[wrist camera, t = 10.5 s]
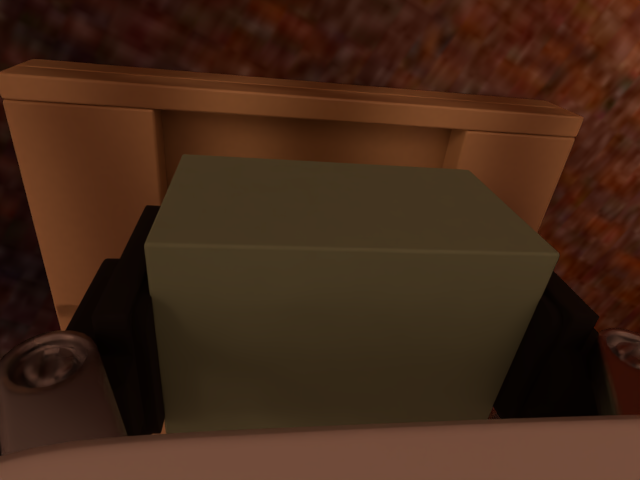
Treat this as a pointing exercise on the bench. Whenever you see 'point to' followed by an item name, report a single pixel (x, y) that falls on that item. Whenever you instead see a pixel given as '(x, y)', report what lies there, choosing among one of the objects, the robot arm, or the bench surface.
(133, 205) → the frame
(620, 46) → the bench surface
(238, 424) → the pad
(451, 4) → the bench surface
